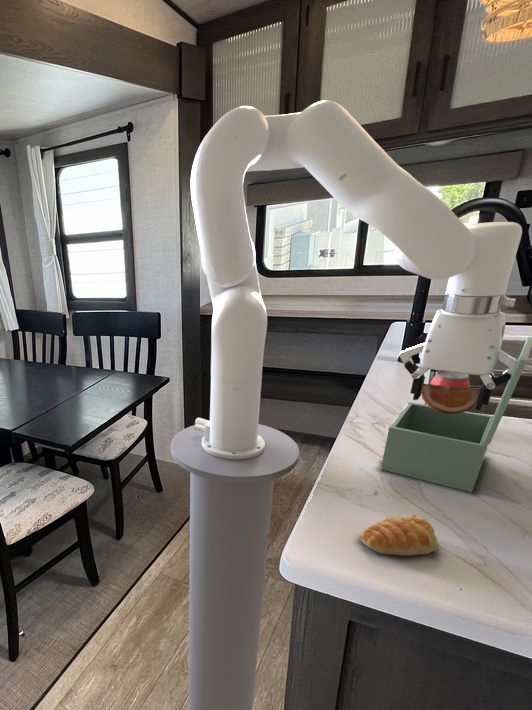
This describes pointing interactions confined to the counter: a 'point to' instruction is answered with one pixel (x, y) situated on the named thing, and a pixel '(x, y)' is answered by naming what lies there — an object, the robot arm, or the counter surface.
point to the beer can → (451, 379)
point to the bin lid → (510, 389)
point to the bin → (437, 446)
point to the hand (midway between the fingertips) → (446, 402)
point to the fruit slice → (449, 398)
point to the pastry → (401, 536)
